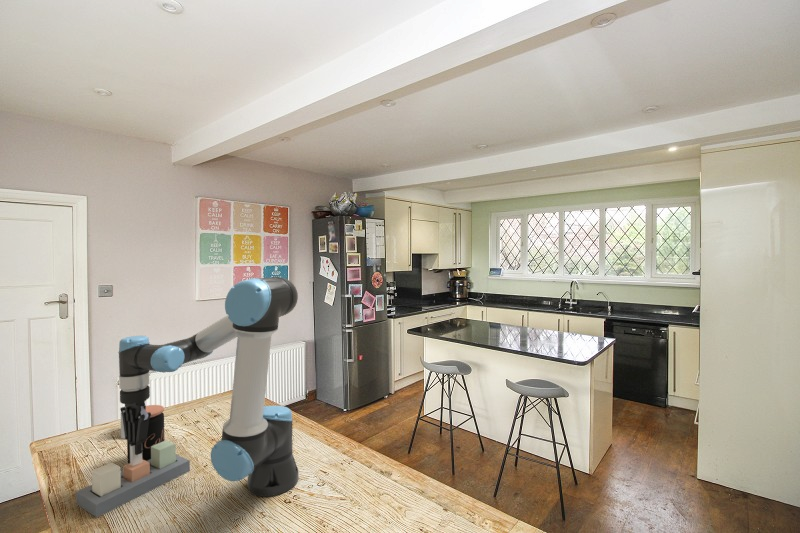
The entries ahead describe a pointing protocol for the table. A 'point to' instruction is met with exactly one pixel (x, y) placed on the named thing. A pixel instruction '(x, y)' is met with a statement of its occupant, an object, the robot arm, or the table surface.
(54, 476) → the table surface
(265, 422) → the robot arm
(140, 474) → the terracotta button
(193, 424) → the table surface
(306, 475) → the table surface
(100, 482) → the cream button
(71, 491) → the table surface
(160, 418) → the coffee jar
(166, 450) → the sage button
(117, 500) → the slate panel
